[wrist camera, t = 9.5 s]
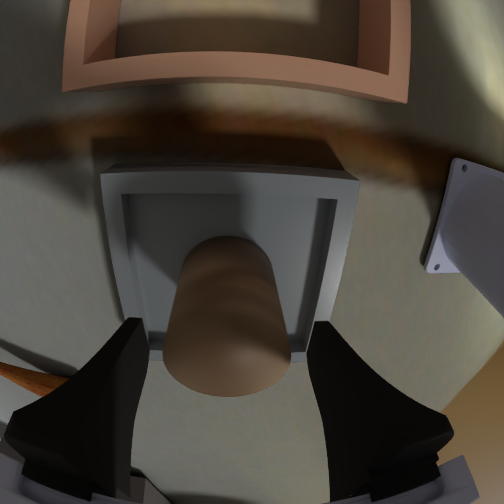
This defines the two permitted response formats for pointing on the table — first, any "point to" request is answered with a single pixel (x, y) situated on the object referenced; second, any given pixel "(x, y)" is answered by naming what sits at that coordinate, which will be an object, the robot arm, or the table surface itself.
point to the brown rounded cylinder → (227, 321)
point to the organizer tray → (139, 487)
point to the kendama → (32, 379)
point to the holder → (241, 58)
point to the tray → (228, 233)
